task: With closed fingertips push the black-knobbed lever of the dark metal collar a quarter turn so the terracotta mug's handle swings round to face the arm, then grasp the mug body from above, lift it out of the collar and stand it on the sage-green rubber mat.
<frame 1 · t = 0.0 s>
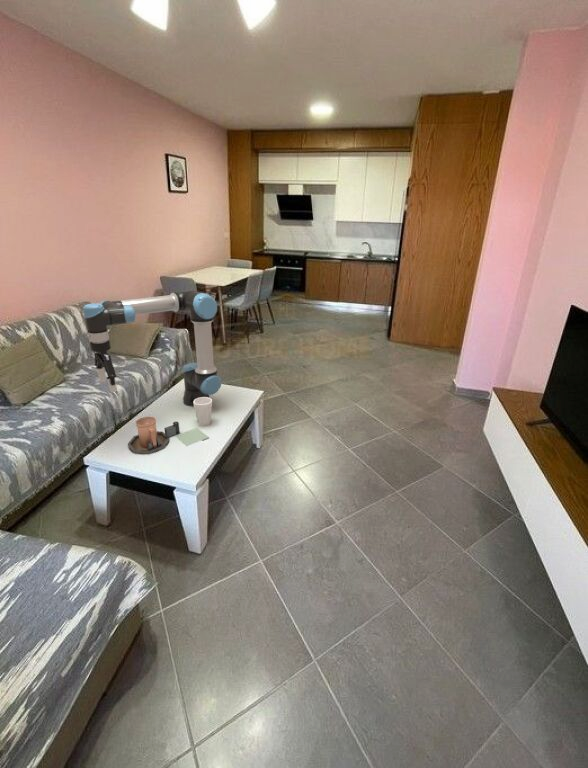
hand: (108, 386, 163), 28 cm above the table, fingers open, 13 cm apart
collar: (155, 435, 171), point 4 cm above the table, hinge at 0.0°
terracotta mug: (149, 443, 170), point 1 cm above the table, touching base plate
foam cup: (204, 423, 190), on the table
base plate: (149, 444, 171), on the table
mat: (191, 437, 177), on the table
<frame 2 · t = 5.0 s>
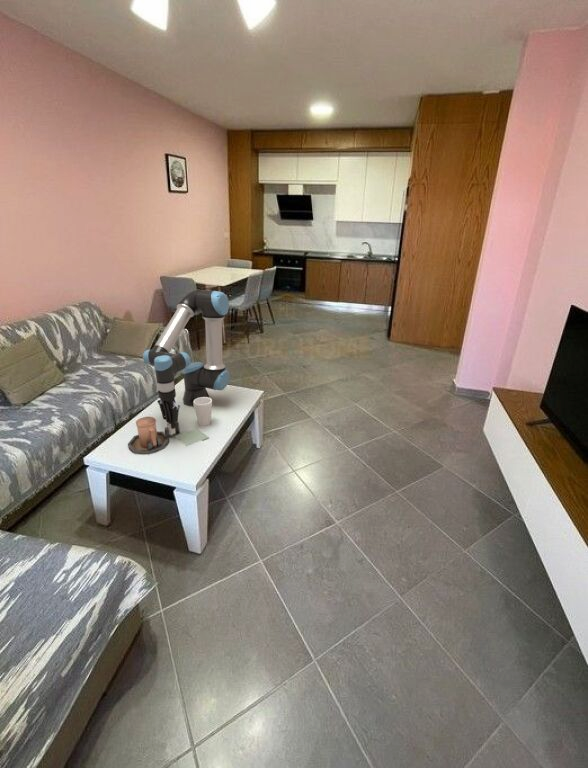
hand: (172, 433, 175), 3 cm above the table, fingers closed
collar: (155, 435, 171), point 4 cm above the table, hinge at 0.3°, touching gripper
everything else where it was.
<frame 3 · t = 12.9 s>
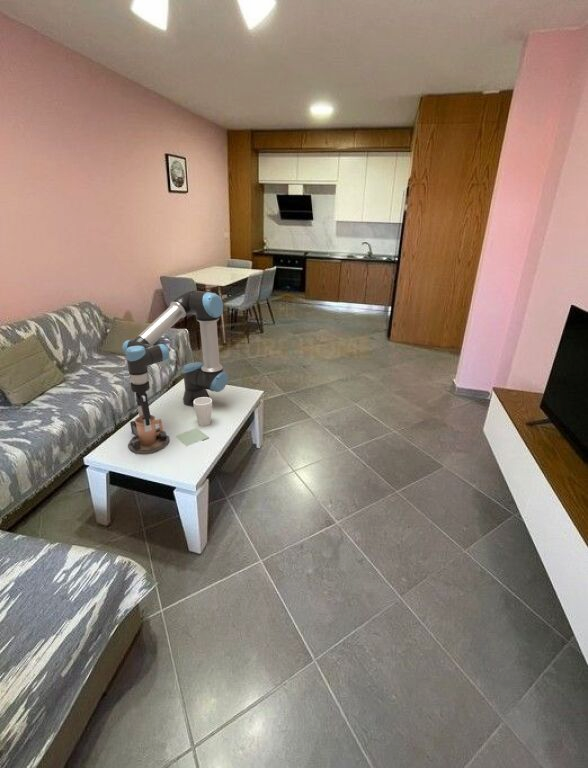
hand: (145, 424, 166), 11 cm above the table, fingers open, 13 cm apart
collar: (144, 435, 171), point 4 cm above the table, hinge at 95.2°
terracotta mug: (148, 441, 172), point 1 cm above the table, touching base plate
everything else where it was.
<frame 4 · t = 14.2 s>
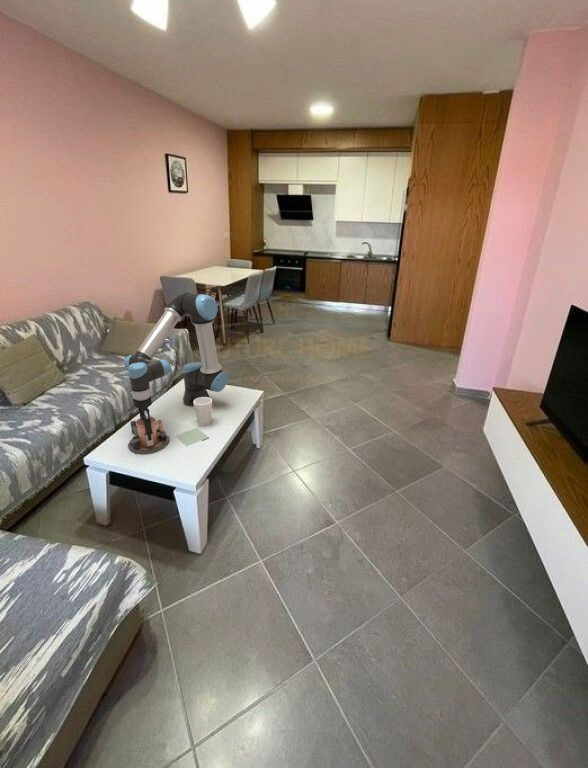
hand: (148, 440, 170), 2 cm above the table, fingers closed on terracotta mug, 8 cm apart
collar: (144, 435, 171), point 4 cm above the table, hinge at 94.7°, touching terracotta mug
terracotta mug: (149, 443, 170), point 1 cm above the table, touching collar, gripper
everything else where it was.
when the fingers open (3 cm above the table, at t = 20.3 s): terracotta mug drops 1 cm, resting on mat.
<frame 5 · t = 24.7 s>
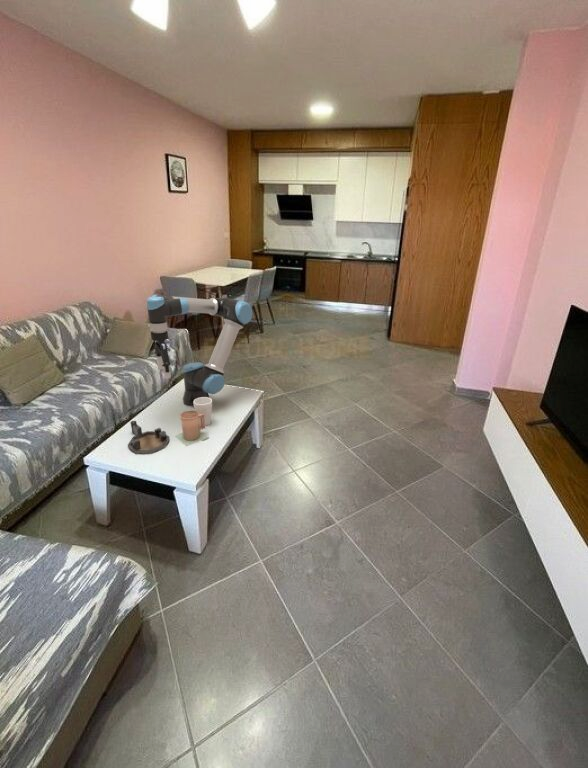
hand: (164, 373, 177), 29 cm above the table, fingers open, 13 cm apart
collar: (144, 435, 171), point 4 cm above the table, hinge at 94.7°
terracotta mug: (191, 436, 177), point 1 cm above the table, touching mat
everything else where it was.
at the end: collar at +95° (first picture: +0°); terracotta mug inside the target area on the mat (0.1 cm from its centre), point 0.7 cm above the mat's base; terracotta mug tilted 1° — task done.
